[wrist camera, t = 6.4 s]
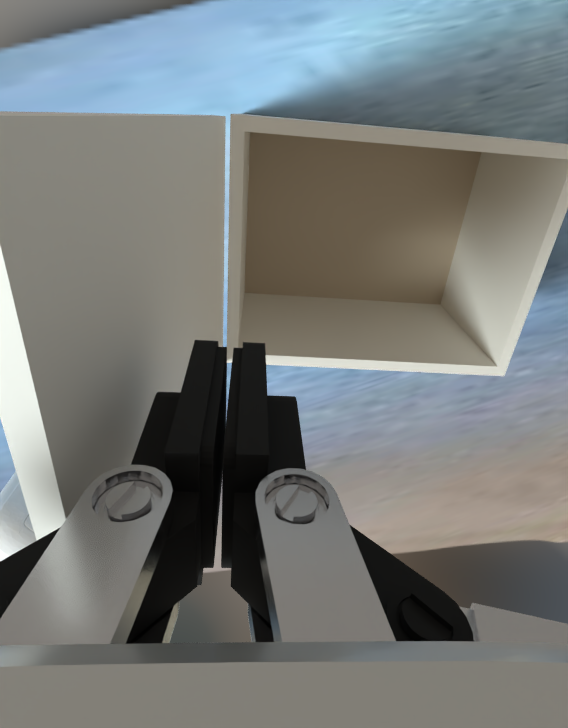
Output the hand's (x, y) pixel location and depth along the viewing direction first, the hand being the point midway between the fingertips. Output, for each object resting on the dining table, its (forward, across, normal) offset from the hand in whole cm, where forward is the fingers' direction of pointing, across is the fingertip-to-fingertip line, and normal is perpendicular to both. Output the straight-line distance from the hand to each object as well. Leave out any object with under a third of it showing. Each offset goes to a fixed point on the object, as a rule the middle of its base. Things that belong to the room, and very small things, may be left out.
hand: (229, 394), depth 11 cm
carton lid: (+4, +2, 0) cm, 4 cm away
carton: (+22, -7, 0) cm, 23 cm away
